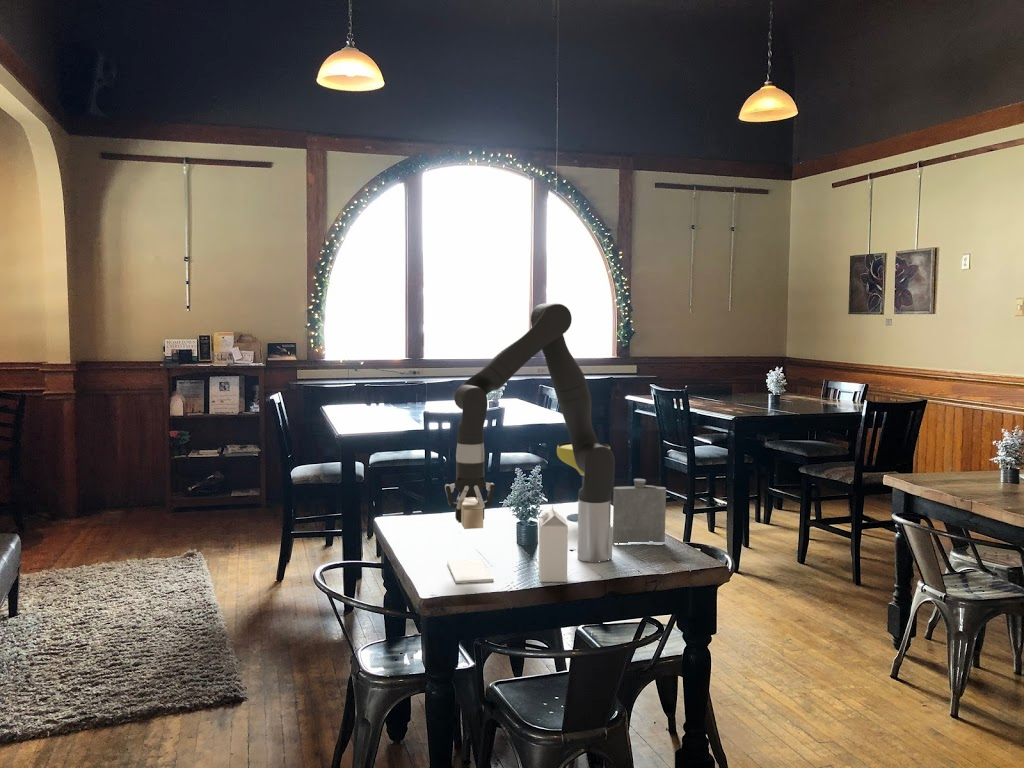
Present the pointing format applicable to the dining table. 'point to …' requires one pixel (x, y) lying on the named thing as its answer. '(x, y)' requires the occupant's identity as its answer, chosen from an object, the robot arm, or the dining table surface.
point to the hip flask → (639, 513)
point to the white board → (470, 571)
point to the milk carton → (553, 547)
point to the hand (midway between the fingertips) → (469, 521)
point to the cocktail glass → (571, 464)
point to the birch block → (471, 514)
